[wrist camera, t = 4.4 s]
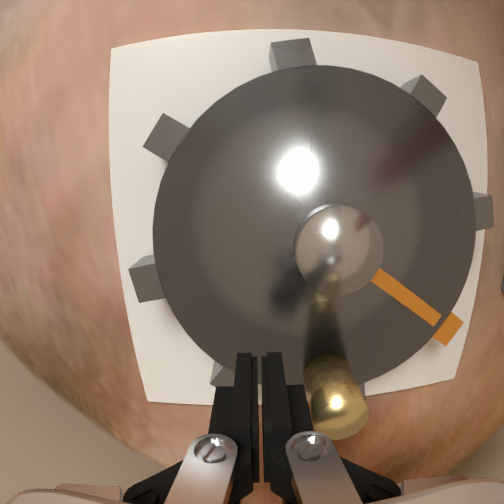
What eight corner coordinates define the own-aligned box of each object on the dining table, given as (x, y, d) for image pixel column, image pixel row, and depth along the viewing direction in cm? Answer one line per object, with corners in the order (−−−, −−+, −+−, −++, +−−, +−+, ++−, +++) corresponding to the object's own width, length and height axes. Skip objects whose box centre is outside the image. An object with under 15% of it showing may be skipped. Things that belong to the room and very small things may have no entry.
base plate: (114, 50, 12) (111, 48, 11) (474, 63, 11) (477, 62, 11) (149, 397, 16) (147, 401, 16) (451, 375, 16) (453, 378, 15)
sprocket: (134, 67, 11) (82, 26, 7) (466, 78, 11) (530, 58, 6) (166, 388, 15) (141, 456, 10) (445, 366, 15) (487, 418, 10)
